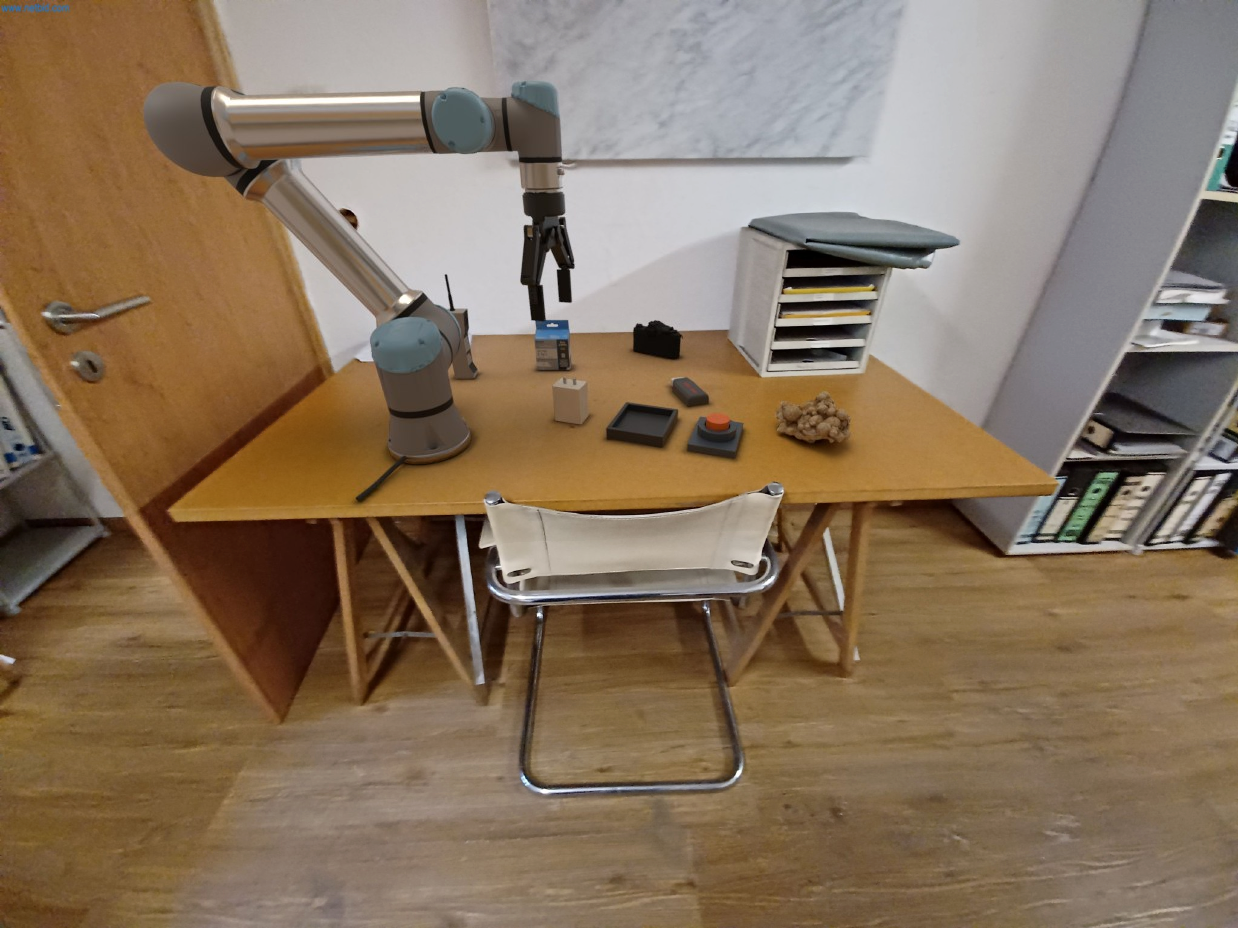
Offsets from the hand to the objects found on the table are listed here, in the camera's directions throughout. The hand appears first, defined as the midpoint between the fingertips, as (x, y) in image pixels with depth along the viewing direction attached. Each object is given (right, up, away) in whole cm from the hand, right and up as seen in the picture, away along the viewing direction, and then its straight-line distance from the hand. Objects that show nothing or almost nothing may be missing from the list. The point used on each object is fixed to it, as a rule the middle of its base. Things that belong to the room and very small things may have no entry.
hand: (552, 311), depth 100 cm
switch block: (+32, -26, -1) cm, 42 cm away
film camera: (+25, +1, +42) cm, 49 cm away
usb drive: (+29, -15, +17) cm, 37 cm away
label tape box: (-4, -6, +32) cm, 32 cm away
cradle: (+18, -24, +3) cm, 30 cm away
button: (+32, -23, -3) cm, 40 cm away
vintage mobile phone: (-26, -9, +27) cm, 39 cm away
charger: (+3, -21, +7) cm, 22 cm away
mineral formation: (+52, -26, -1) cm, 58 cm away
